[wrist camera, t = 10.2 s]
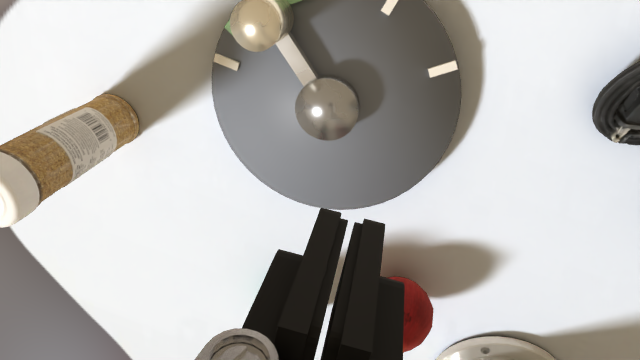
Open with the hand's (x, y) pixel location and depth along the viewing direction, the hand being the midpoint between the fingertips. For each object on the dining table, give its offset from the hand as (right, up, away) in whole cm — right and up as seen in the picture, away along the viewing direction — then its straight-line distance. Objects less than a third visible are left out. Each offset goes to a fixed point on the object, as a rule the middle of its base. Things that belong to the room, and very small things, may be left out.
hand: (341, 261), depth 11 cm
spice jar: (-18, +7, +26) cm, 32 cm away
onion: (+7, -7, +28) cm, 30 cm away
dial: (0, +8, +21) cm, 23 cm away
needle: (-2, +10, +18) cm, 21 cm away
